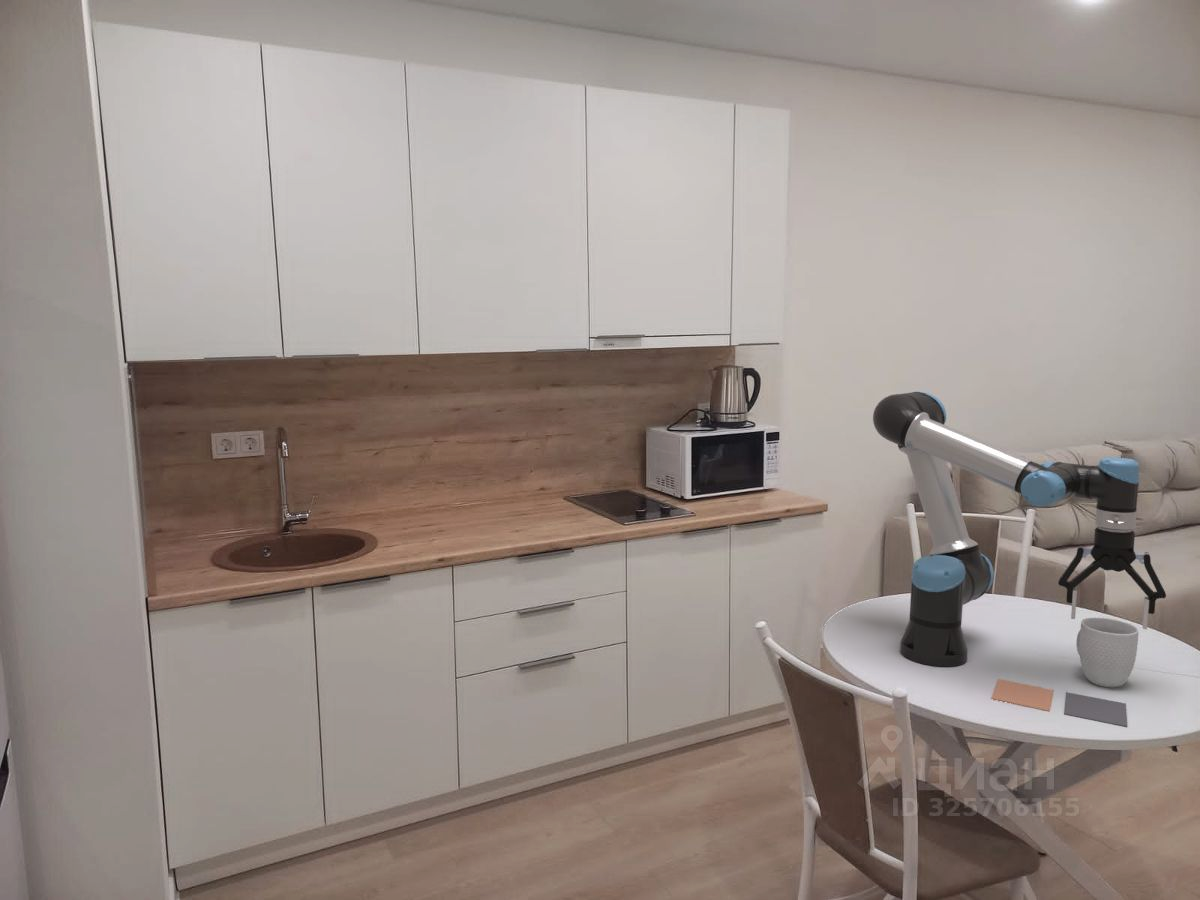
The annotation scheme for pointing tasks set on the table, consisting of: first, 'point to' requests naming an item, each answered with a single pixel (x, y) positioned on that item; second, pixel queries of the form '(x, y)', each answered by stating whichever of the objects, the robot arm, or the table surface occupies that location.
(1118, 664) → the mug
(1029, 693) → the terracotta tile
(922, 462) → the robot arm
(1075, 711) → the charcoal mat
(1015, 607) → the table surface
